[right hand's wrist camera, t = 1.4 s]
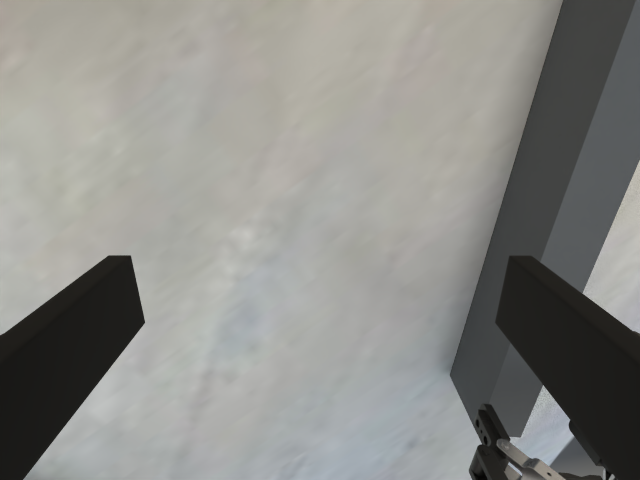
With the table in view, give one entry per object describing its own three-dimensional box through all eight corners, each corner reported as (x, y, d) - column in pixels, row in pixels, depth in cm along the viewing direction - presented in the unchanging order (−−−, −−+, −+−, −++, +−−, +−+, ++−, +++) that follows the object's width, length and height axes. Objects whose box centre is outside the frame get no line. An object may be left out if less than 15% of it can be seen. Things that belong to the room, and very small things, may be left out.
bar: (697, -442, 21) (908, -746, 14) (768, -429, 21) (1018, -722, 14) (449, 375, 44) (477, 434, 36) (485, 378, 44) (520, 437, 36)
